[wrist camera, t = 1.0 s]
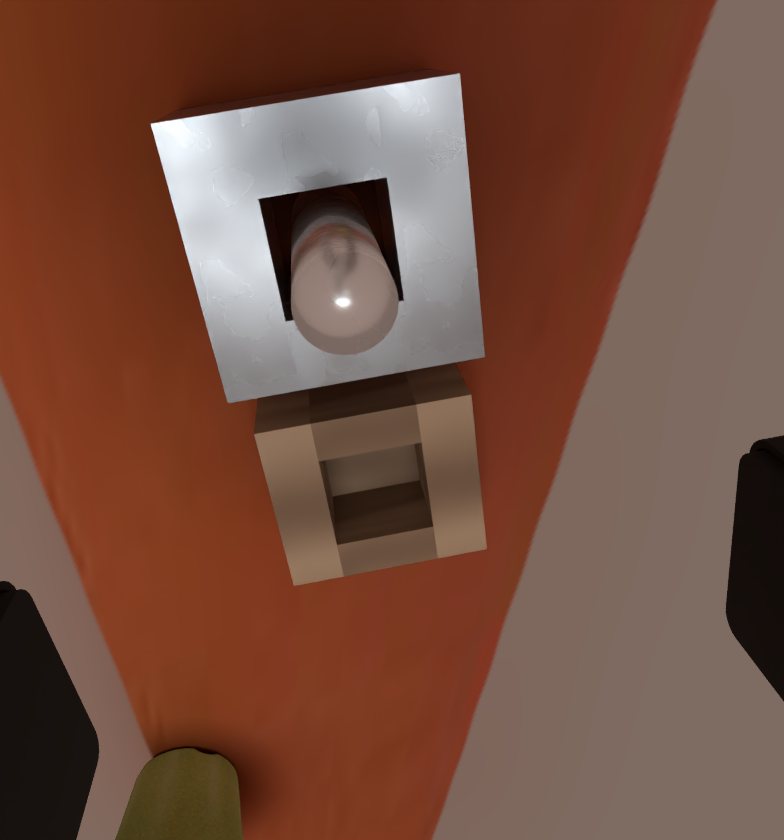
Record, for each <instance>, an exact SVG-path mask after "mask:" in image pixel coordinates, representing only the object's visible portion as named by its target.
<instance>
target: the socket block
mask: <svg viewBox="0 0 784 840" xmlns="http://www.w3.org/2000/svg"><path fill="white" fill-rule="evenodd" d="M151 126H152V130H153V134H154V137H155V141H156V145H157V148H158V152H159V155H160V159H161V163H162V166H163V170H164V174H165V177H166V181H167V184H168V188H169V192H170V195H171V199H172V203H173V206H174V210H175V213H176V217H177V221H178V224H179V228H180V231H181V235H182V239H183V242H184V246H185V250H186V253H187V257H188V260H189V264H190V268H191V271H192V275H193V279H194V282H195V286H196V289H197V293H198V297H199V300H200V304H201V308H202V311H203V315H204V318H205V322H206V326H207V329H208V333H209V336H210V340H211V344H212V347H213V351H214V355H215V358H216V362H217V365H218V369H219V373H220V376H221V380H222V384H223V387H224V391H225V394H226V398H227V402H228V403H233V402H238V401H244V400H249V399H255V398H260V397H266V396H271V395H277V394H283V393H288V392H294V391H299V390H305V389H310V388H316V387H321V386H327V385H333V384H338V383H344V382H349V381H355V380H360V379H366V378H371V377H377V376H382V375H388V374H394V373H399V372H405V371H410V370H416V369H421V368H427V367H432V366H438V365H444V364H449V363H455V362H460V361H466V360H471V359H477V358H482V357H485V353H484V341H483V330H482V319H481V307H480V296H479V285H478V273H477V262H476V251H475V239H474V228H473V217H472V205H471V194H470V183H469V171H468V160H467V149H466V137H465V126H464V115H463V103H462V92H461V81H460V73H454V72H447V71H440V70H433V69H426V70H419V71H413V72H407V73H401V74H395V75H389V76H383V77H376V78H370V79H364V80H358V81H352V82H346V83H339V84H333V85H327V86H321V87H315V88H309V89H302V90H296V91H290V92H284V93H278V94H272V95H266V96H259V97H253V98H247V99H241V100H235V101H229V102H222V103H216V104H210V105H204V106H198V107H192V108H186V109H179V110H176V111H174V112H172V113H170V114H168V115H167V116H165V117H163V118H161V119H159V120H157V121H155V122H153V123H151ZM373 179H374V183H375V190H376V197H377V204H378V210H379V217H380V224H381V231H382V238H383V244H384V251H385V258H386V259H384V260H385V262H386V264H387V267H388V269H389V271H390V274H391V276H392V278H393V280H394V283H395V286H396V288H397V292H398V300H399V306H398V313H397V317H396V320H395V323H394V325H393V327H392V329H391V330H390V332H389V333H388V334H387V336H386V337H385V338H384V339H383V340H382V341H381V342H380V343H378V344H377V345H376V346H374V347H373V348H371V349H369V350H367V351H364V352H361V353H358V354H353V355H336V354H331V353H327V352H325V351H322V350H320V349H318V348H316V347H315V346H313V345H312V344H311V343H309V342H308V341H307V340H306V339H305V338H304V337H303V336H302V334H301V333H300V332H299V330H298V328H297V326H296V324H295V322H294V319H293V316H292V310H291V275H290V276H287V275H286V271H285V266H284V261H283V257H282V252H281V247H280V243H279V238H278V233H277V229H276V224H275V219H274V215H273V210H272V205H271V201H270V197H272V196H278V195H284V194H290V193H296V192H302V191H308V190H314V189H320V188H326V187H332V186H338V185H343V184H349V183H355V182H361V181H367V180H373Z"/></svg>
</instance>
